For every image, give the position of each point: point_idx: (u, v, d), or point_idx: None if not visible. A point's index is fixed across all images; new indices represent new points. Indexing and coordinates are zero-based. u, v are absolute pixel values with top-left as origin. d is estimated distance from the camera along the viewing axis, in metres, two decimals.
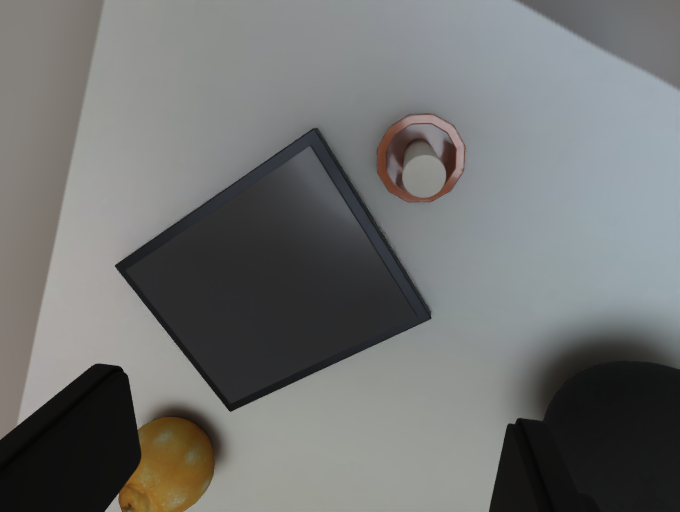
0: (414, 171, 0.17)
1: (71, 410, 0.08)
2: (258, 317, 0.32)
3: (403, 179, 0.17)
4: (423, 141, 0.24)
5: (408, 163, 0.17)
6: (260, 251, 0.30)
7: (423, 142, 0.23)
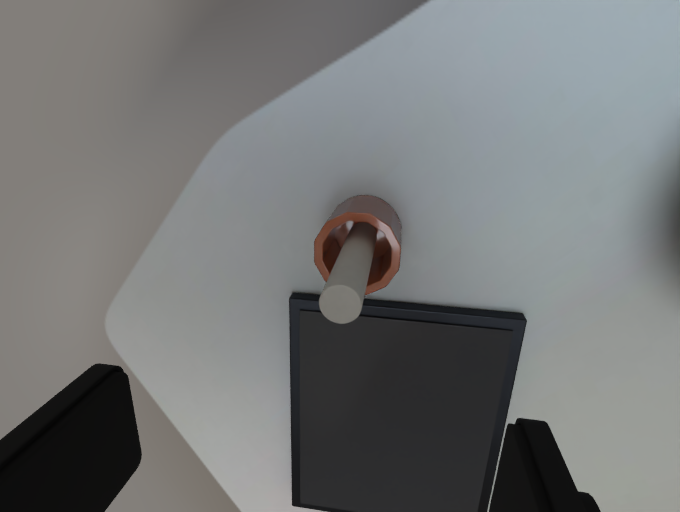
0: (330, 309, 0.17)
1: (71, 410, 0.08)
2: (411, 449, 0.31)
3: (331, 320, 0.17)
4: (349, 235, 0.24)
5: (321, 308, 0.17)
6: (356, 405, 0.31)
7: (346, 239, 0.23)
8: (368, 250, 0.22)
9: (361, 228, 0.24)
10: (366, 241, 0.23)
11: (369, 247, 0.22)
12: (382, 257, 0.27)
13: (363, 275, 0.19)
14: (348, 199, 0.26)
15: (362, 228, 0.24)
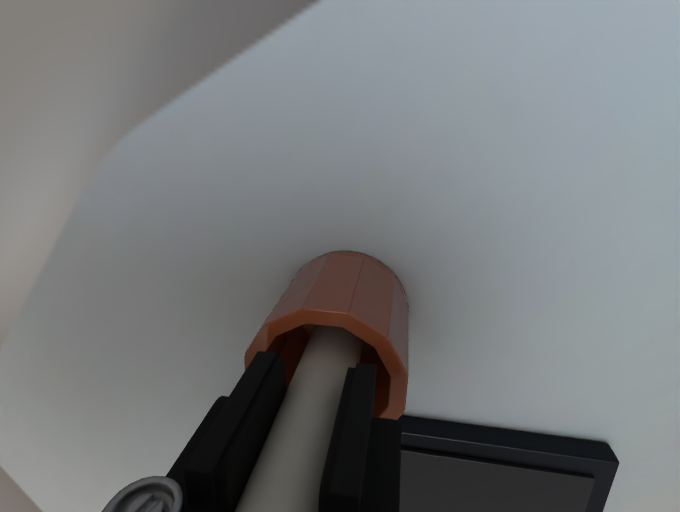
0: None
1: (260, 392, 0.09)
2: None
3: None
4: (314, 334, 0.13)
5: None
6: None
7: (307, 349, 0.12)
8: None
9: None
10: (341, 357, 0.12)
11: None
12: (376, 355, 0.16)
13: None
14: (319, 258, 0.16)
15: None
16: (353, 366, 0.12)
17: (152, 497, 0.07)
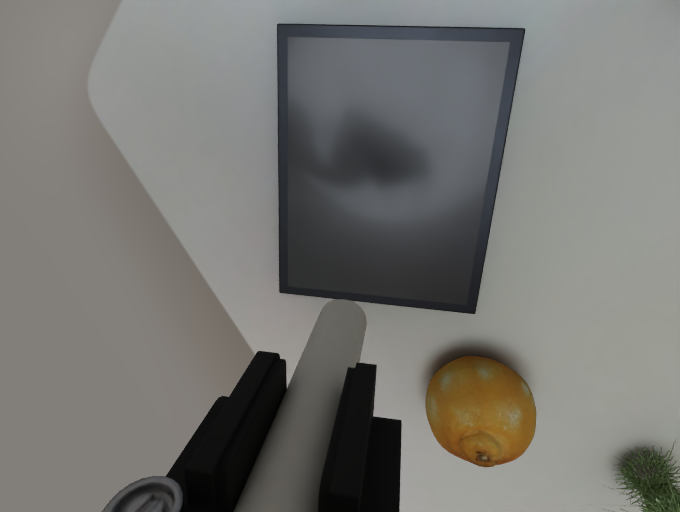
0: None
1: (260, 392, 0.09)
2: (402, 206, 0.30)
3: None
4: (313, 333, 0.13)
5: None
6: (345, 154, 0.29)
7: (307, 348, 0.12)
8: (343, 384, 0.11)
9: (337, 317, 0.14)
10: (341, 356, 0.12)
11: None
12: None
13: None
14: None
15: (339, 317, 0.14)
16: (353, 365, 0.12)
17: (152, 497, 0.07)
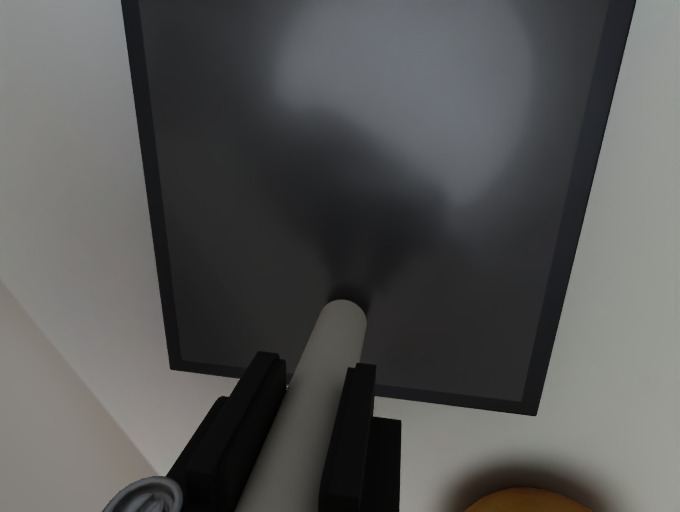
0: None
1: (260, 392, 0.09)
2: (390, 209, 0.14)
3: None
4: (313, 333, 0.13)
5: None
6: (268, 100, 0.14)
7: (307, 348, 0.12)
8: None
9: (337, 318, 0.14)
10: (341, 357, 0.12)
11: None
12: None
13: None
14: None
15: (339, 318, 0.14)
16: (353, 366, 0.12)
17: (152, 497, 0.07)
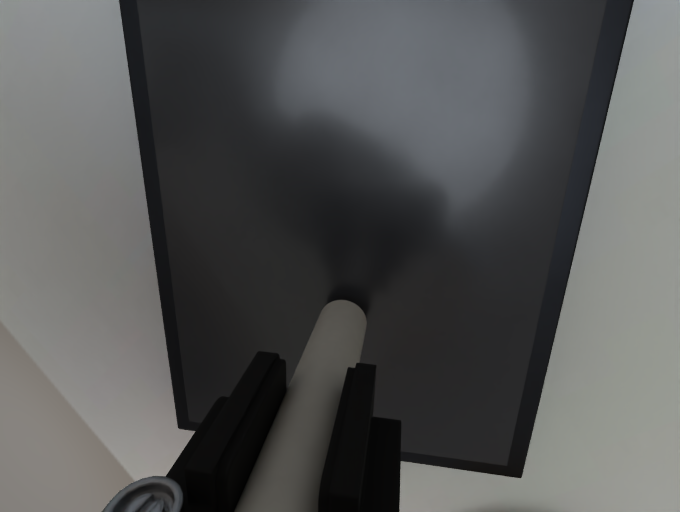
0: None
1: (260, 392, 0.09)
2: (383, 295, 0.16)
3: None
4: (313, 334, 0.13)
5: None
6: (269, 199, 0.15)
7: (307, 349, 0.12)
8: None
9: (337, 318, 0.14)
10: (341, 357, 0.12)
11: None
12: None
13: None
14: None
15: (339, 318, 0.14)
16: (353, 366, 0.12)
17: (152, 497, 0.07)
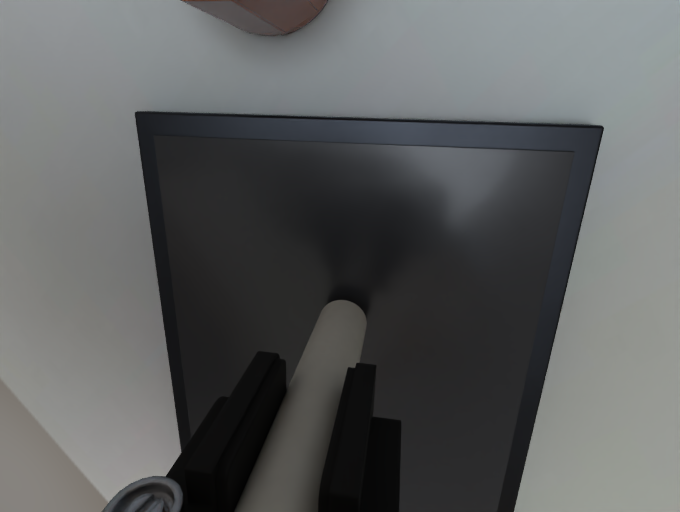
0: None
1: (260, 392, 0.09)
2: (375, 410, 0.17)
3: None
4: (313, 334, 0.13)
5: None
6: (274, 328, 0.17)
7: (307, 349, 0.12)
8: None
9: (337, 318, 0.14)
10: (341, 357, 0.12)
11: None
12: None
13: None
14: None
15: (339, 318, 0.14)
16: (353, 366, 0.12)
17: (152, 497, 0.07)
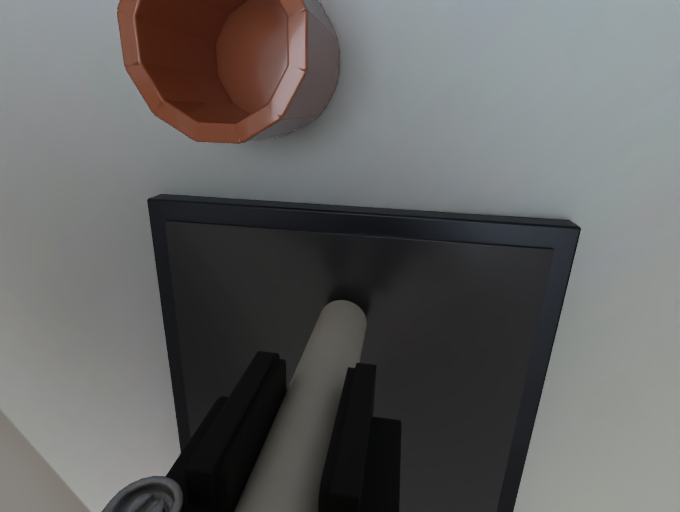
0: None
1: (260, 392, 0.09)
2: None
3: None
4: (314, 334, 0.13)
5: None
6: None
7: (307, 349, 0.12)
8: None
9: (337, 318, 0.14)
10: (341, 357, 0.12)
11: None
12: None
13: None
14: None
15: (339, 318, 0.14)
16: (353, 366, 0.12)
17: (152, 497, 0.07)
